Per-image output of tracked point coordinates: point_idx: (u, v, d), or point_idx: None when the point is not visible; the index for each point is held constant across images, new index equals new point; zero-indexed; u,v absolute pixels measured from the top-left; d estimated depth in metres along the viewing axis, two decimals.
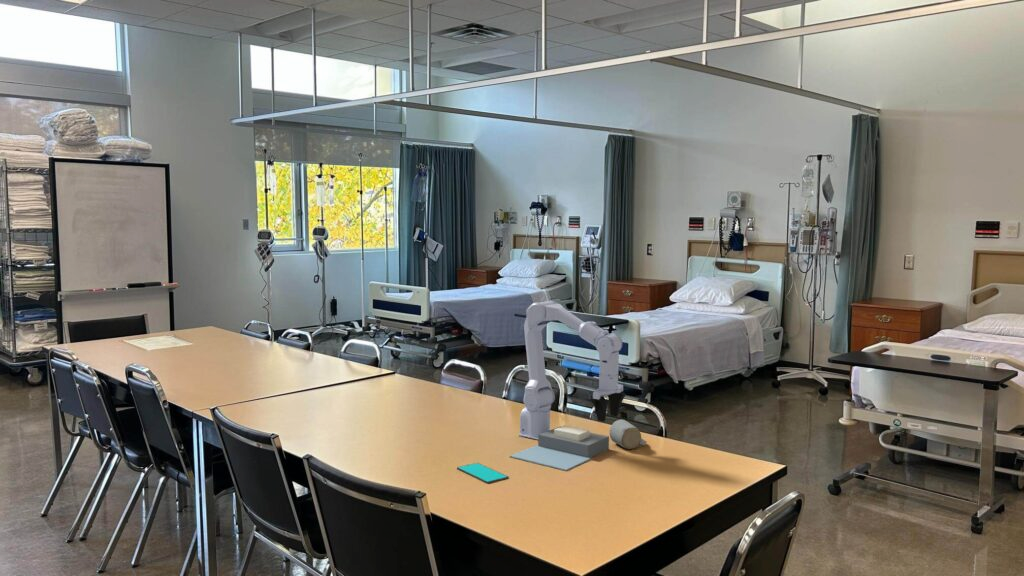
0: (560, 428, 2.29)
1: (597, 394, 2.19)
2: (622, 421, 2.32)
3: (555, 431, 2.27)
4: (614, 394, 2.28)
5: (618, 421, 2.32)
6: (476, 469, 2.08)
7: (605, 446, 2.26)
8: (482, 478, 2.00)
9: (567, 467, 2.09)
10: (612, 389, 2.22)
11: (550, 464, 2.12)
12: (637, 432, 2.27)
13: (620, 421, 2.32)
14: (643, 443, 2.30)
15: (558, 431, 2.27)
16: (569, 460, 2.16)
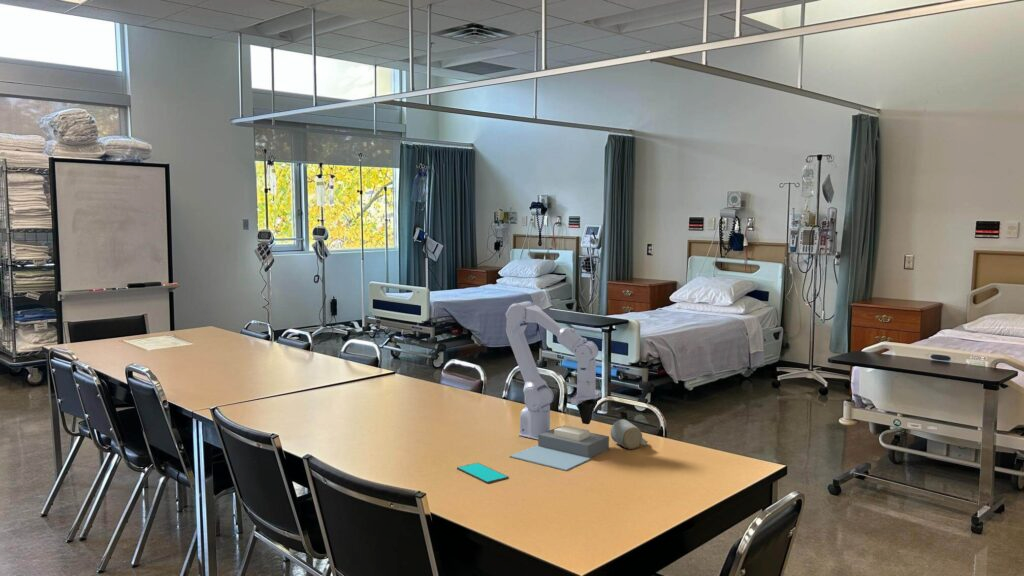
0: (560, 428, 2.29)
1: (575, 400, 2.27)
2: (623, 421, 2.32)
3: (555, 431, 2.27)
4: None
5: (619, 421, 2.32)
6: (476, 469, 2.08)
7: (605, 446, 2.26)
8: (482, 478, 2.00)
9: (567, 467, 2.09)
10: (589, 395, 2.30)
11: (550, 464, 2.12)
12: (638, 432, 2.27)
13: (621, 421, 2.32)
14: (644, 443, 2.30)
15: (558, 431, 2.27)
16: (569, 460, 2.16)
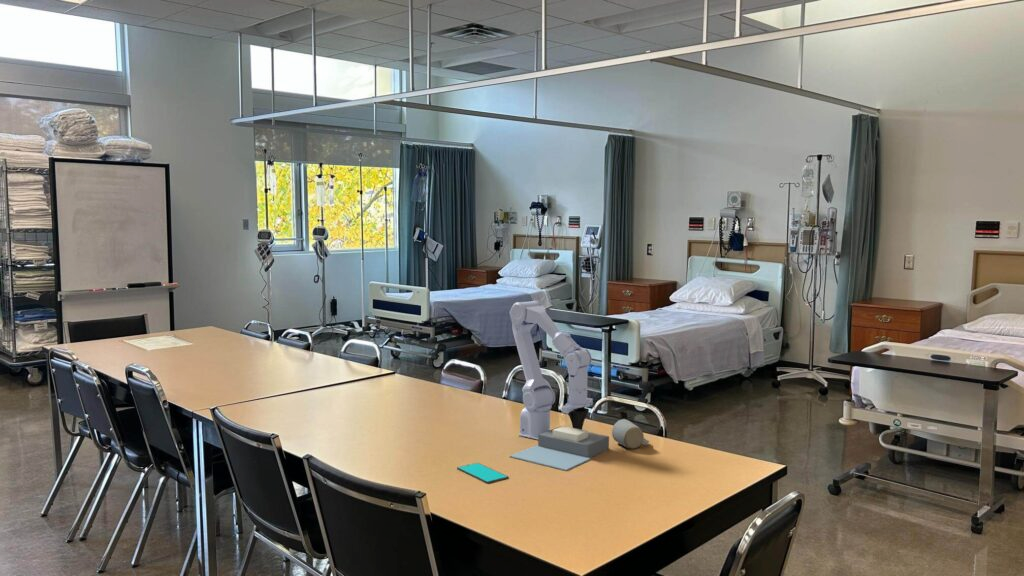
0: (558, 429, 2.28)
1: (566, 408, 2.23)
2: (624, 421, 2.32)
3: (553, 432, 2.27)
4: None
5: (620, 421, 2.32)
6: (476, 469, 2.08)
7: (605, 446, 2.26)
8: (482, 478, 2.00)
9: (567, 467, 2.09)
10: (581, 403, 2.26)
11: (550, 464, 2.12)
12: (639, 432, 2.27)
13: (622, 421, 2.32)
14: (645, 443, 2.30)
15: (556, 432, 2.26)
16: (569, 460, 2.16)
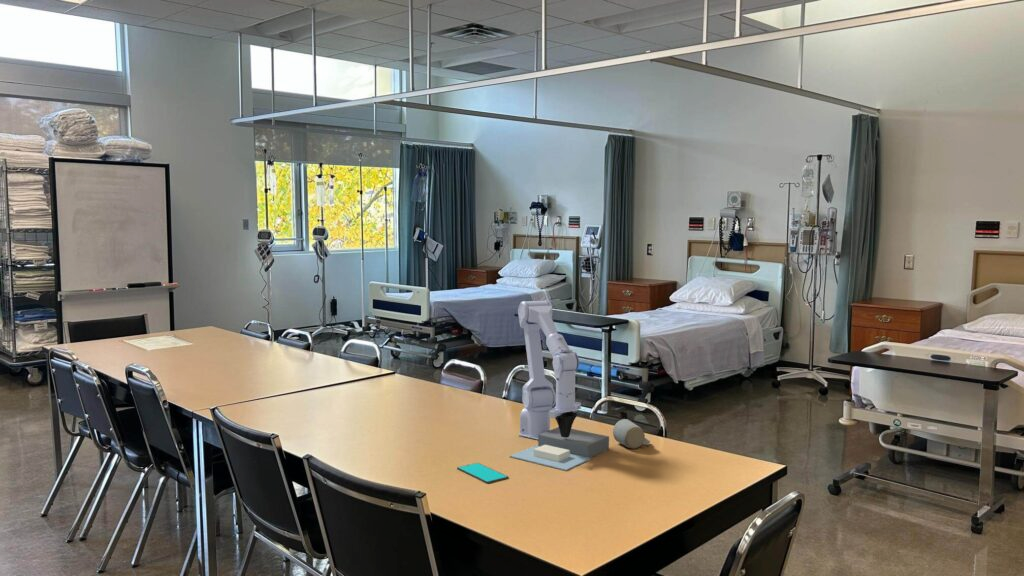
0: None
1: (553, 413, 2.18)
2: (626, 421, 2.32)
3: None
4: None
5: (622, 421, 2.33)
6: (476, 469, 2.08)
7: (605, 446, 2.26)
8: (482, 478, 2.00)
9: (567, 467, 2.09)
10: (568, 407, 2.21)
11: (550, 464, 2.12)
12: (641, 432, 2.28)
13: (624, 421, 2.32)
14: (647, 443, 2.30)
15: None
16: (569, 460, 2.16)
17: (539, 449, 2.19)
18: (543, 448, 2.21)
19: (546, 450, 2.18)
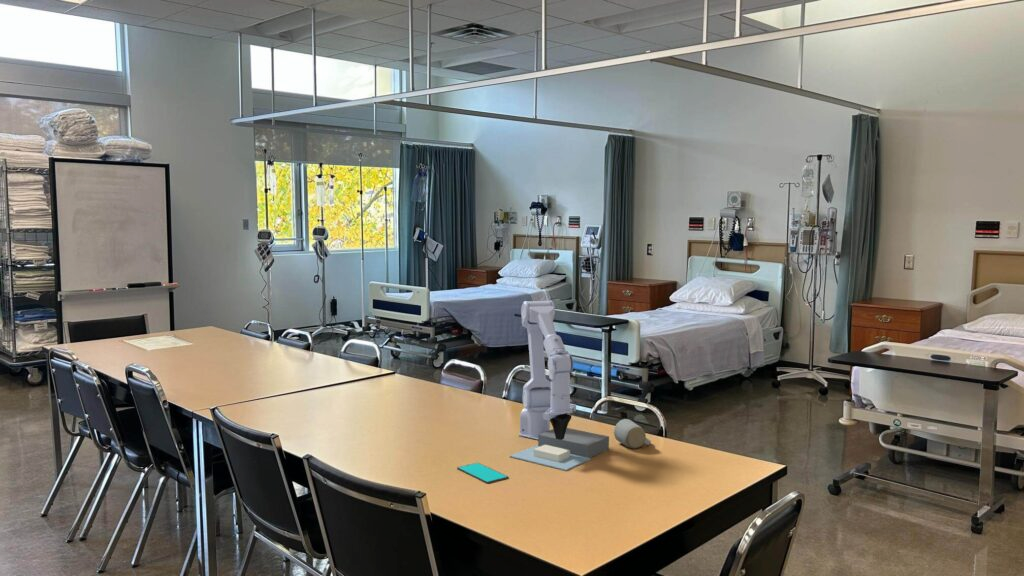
0: None
1: (547, 415, 2.16)
2: (627, 420, 2.32)
3: None
4: None
5: (623, 420, 2.33)
6: (476, 469, 2.08)
7: (605, 446, 2.26)
8: (482, 478, 2.00)
9: (567, 467, 2.09)
10: (563, 409, 2.19)
11: (550, 464, 2.12)
12: (642, 431, 2.28)
13: (625, 420, 2.32)
14: (648, 442, 2.30)
15: None
16: (569, 460, 2.16)
17: (539, 449, 2.19)
18: (543, 448, 2.21)
19: (546, 450, 2.18)
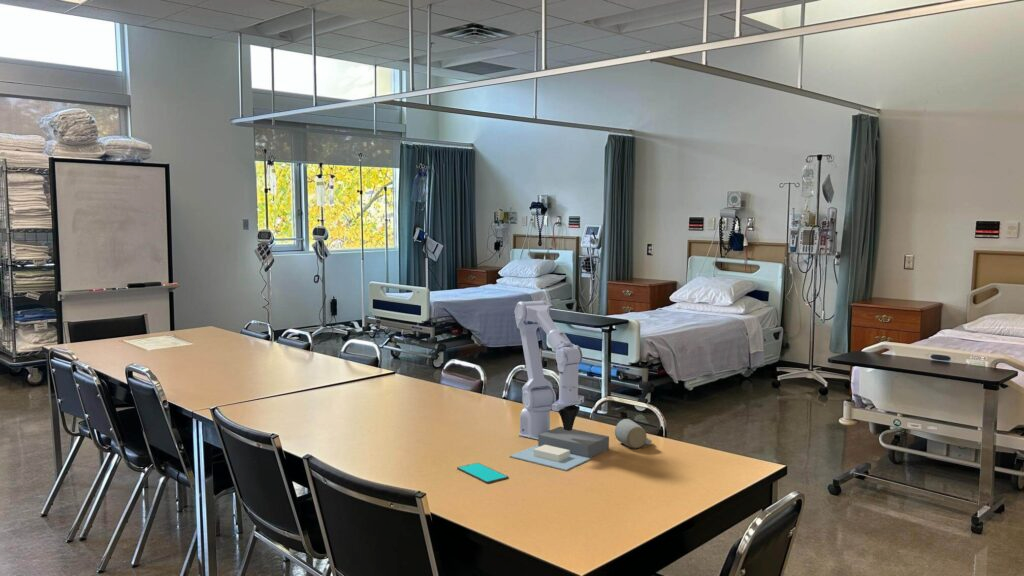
0: None
1: (556, 406, 2.19)
2: (627, 420, 2.32)
3: None
4: None
5: (623, 420, 2.33)
6: (476, 469, 2.08)
7: (605, 446, 2.26)
8: (482, 478, 2.00)
9: (567, 467, 2.09)
10: (571, 401, 2.22)
11: (550, 464, 2.12)
12: (642, 431, 2.28)
13: (625, 420, 2.33)
14: (648, 442, 2.30)
15: None
16: (569, 460, 2.16)
17: (539, 449, 2.19)
18: (543, 448, 2.21)
19: (546, 450, 2.18)
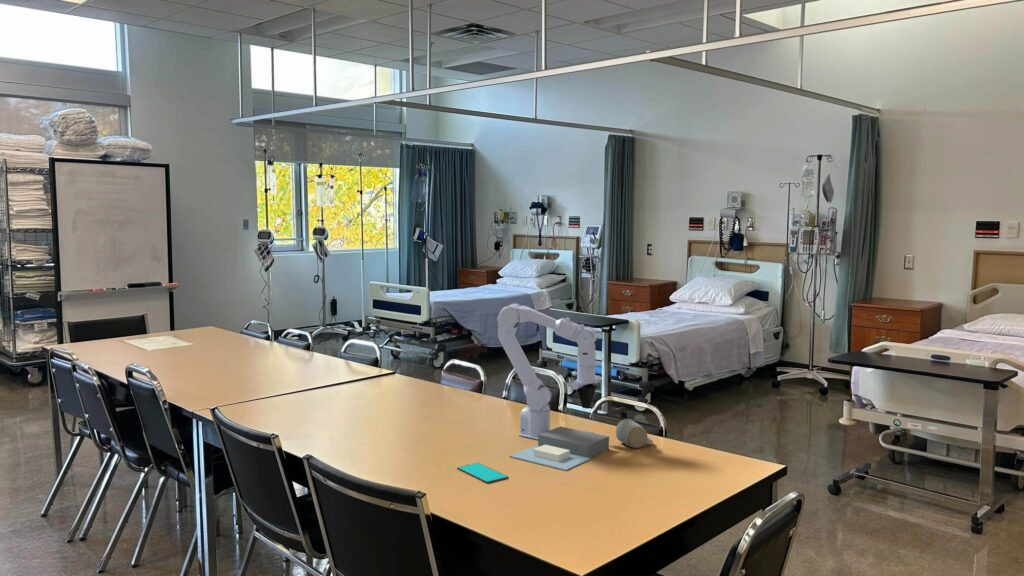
0: None
1: (575, 384, 2.30)
2: (628, 420, 2.33)
3: None
4: None
5: (624, 420, 2.33)
6: (476, 469, 2.08)
7: (605, 446, 2.26)
8: (482, 478, 2.00)
9: (567, 467, 2.09)
10: (589, 380, 2.33)
11: (550, 464, 2.12)
12: (643, 431, 2.28)
13: (626, 420, 2.33)
14: (649, 442, 2.31)
15: None
16: (569, 460, 2.16)
17: (539, 449, 2.19)
18: (543, 448, 2.21)
19: (546, 450, 2.18)
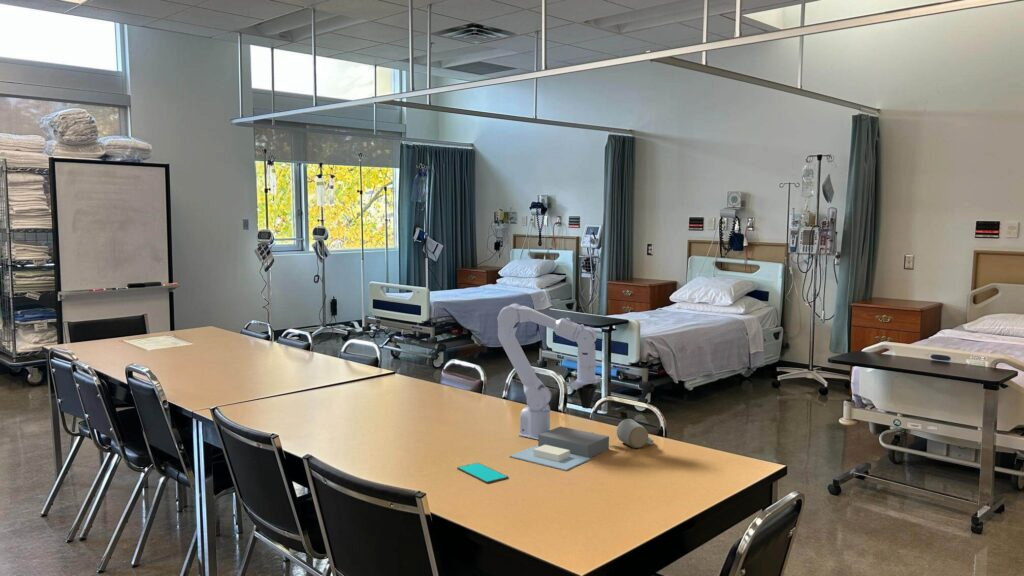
0: None
1: (575, 384, 2.30)
2: (629, 420, 2.33)
3: None
4: None
5: (625, 420, 2.33)
6: (476, 469, 2.08)
7: (605, 446, 2.26)
8: (482, 478, 2.00)
9: (567, 467, 2.09)
10: (589, 380, 2.33)
11: (550, 464, 2.12)
12: (644, 431, 2.28)
13: (627, 420, 2.33)
14: (650, 442, 2.31)
15: None
16: (569, 460, 2.16)
17: (539, 449, 2.19)
18: (543, 448, 2.21)
19: (546, 450, 2.18)
